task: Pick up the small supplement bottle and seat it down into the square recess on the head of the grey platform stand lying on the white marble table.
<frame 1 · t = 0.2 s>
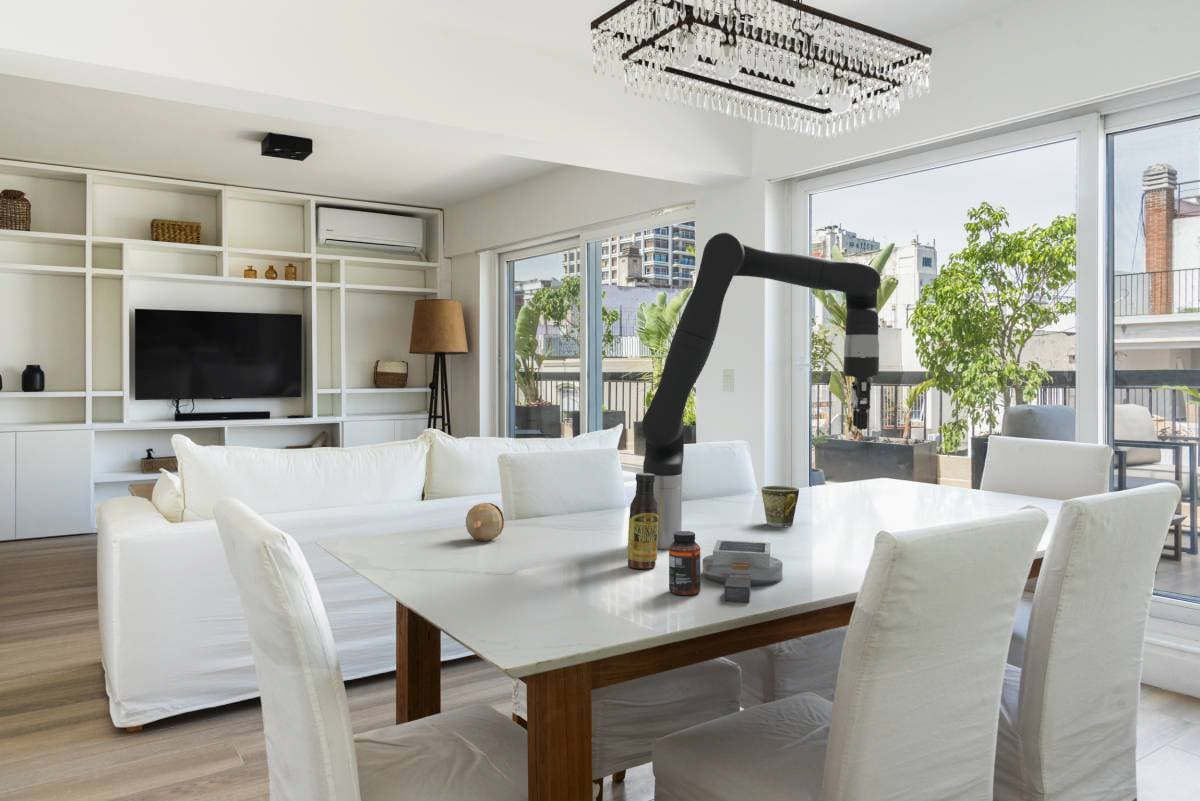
hand: (859, 427, 187), 29 cm above the table, fingers open, 8 cm apart
sauce bottle: (642, 567, 177), on the table
supplement bottle: (684, 593, 157), on the table
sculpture: (483, 542, 202), on the table
grey platform stand: (742, 576, 169), on the table
ceramic cup: (782, 526, 224), on the table
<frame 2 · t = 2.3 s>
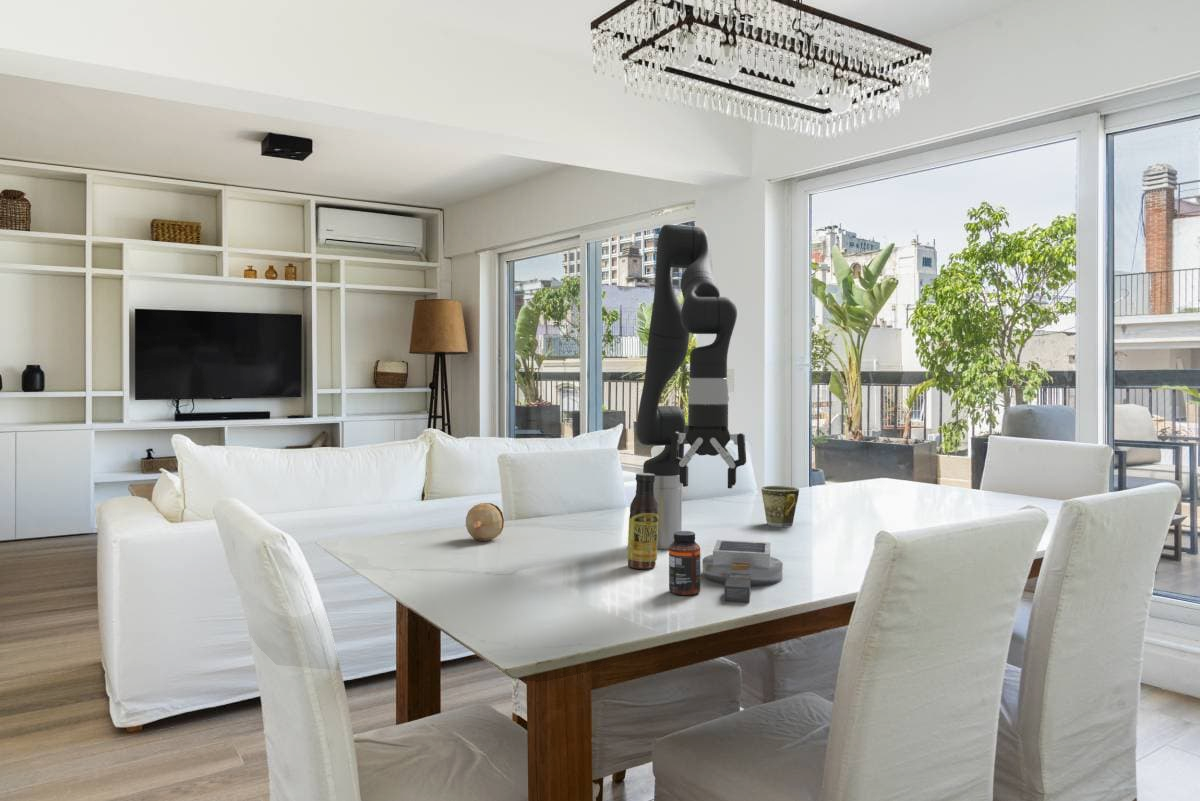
hand: (707, 487, 158), 20 cm above the table, fingers open, 8 cm apart
nothing on the table moved.
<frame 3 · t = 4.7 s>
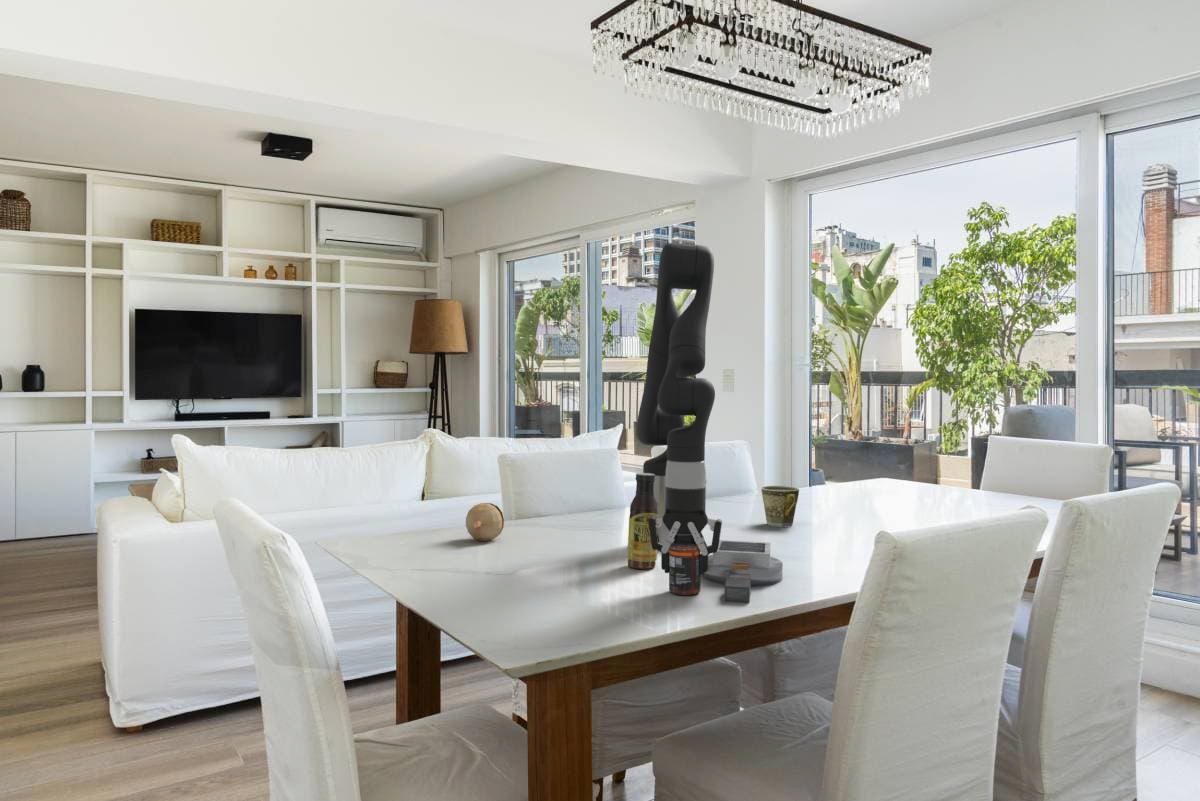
hand: (684, 572, 157), 4 cm above the table, fingers closed on supplement bottle, 6 cm apart
supplement bottle: (684, 593, 157), on the table, touching gripper
everything else where it was.
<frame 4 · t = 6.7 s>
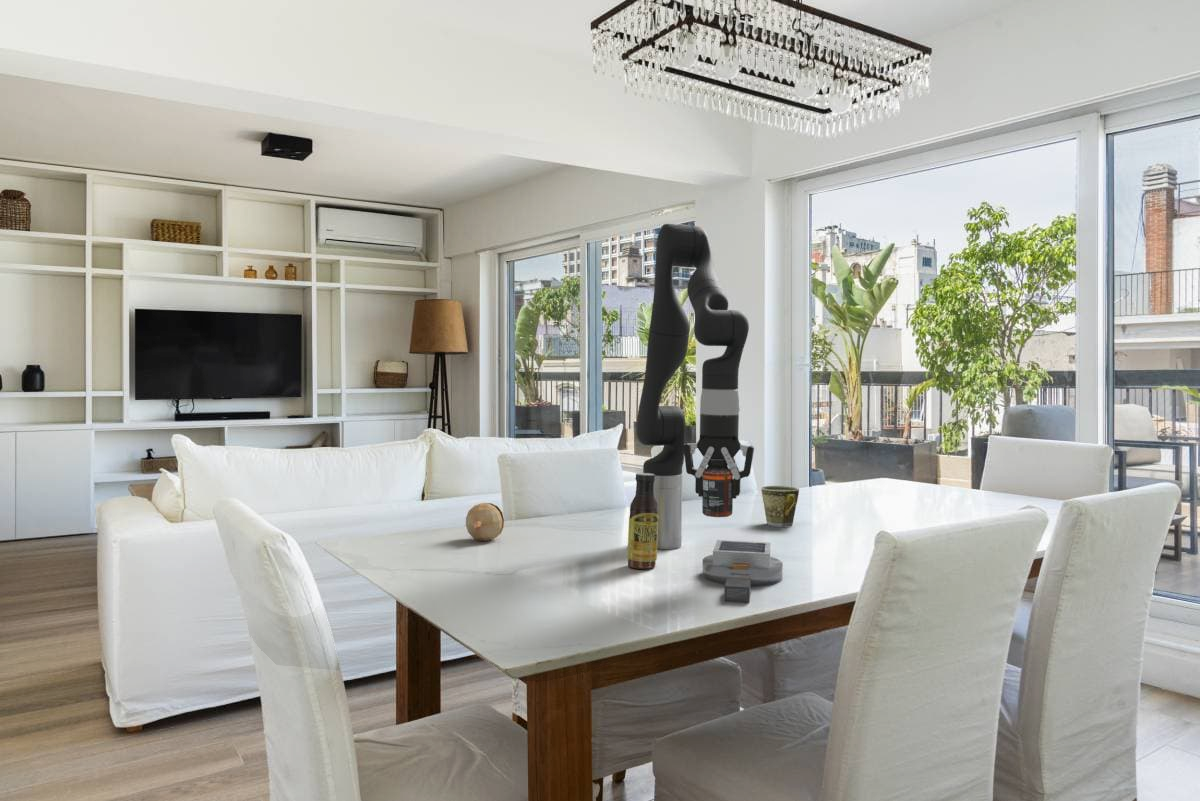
hand: (717, 496, 164), 17 cm above the table, fingers closed on supplement bottle, 6 cm apart
supplement bottle: (717, 516, 164), point 13 cm above the table, touching gripper
everything else where it was.
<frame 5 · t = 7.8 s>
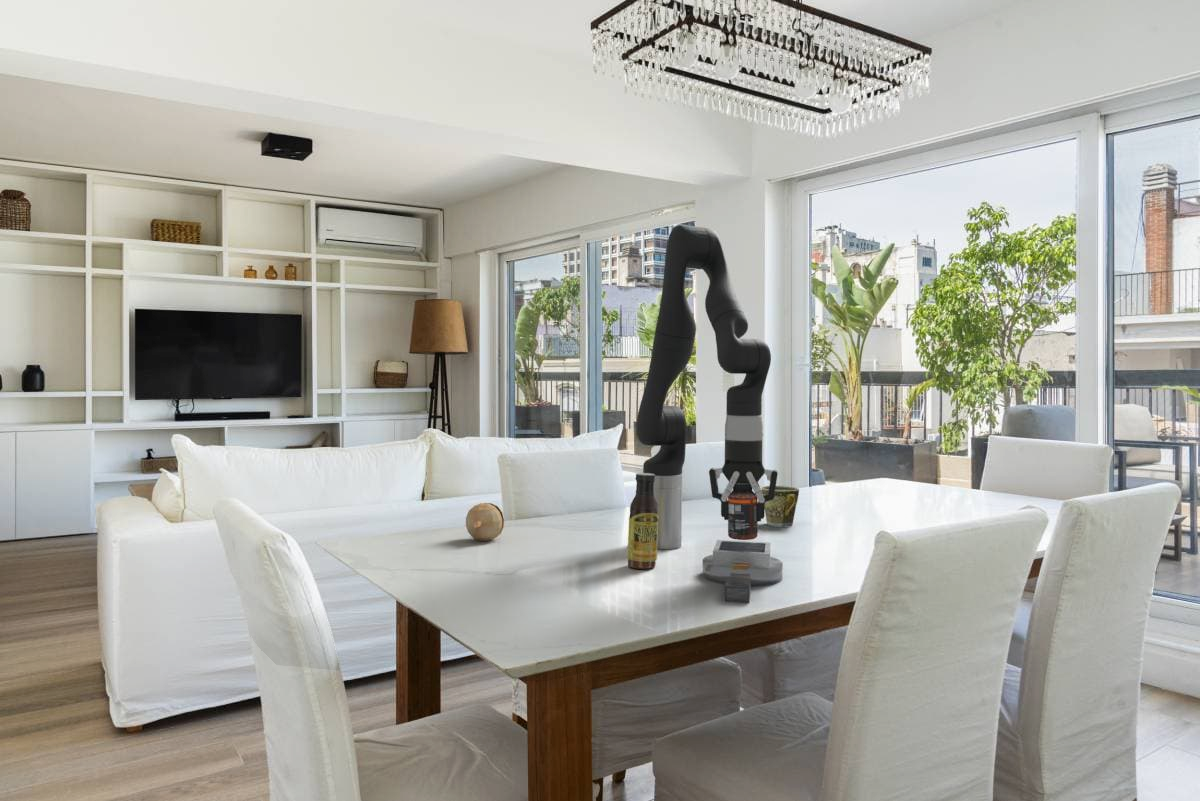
hand: (742, 519, 169), 11 cm above the table, fingers closed on supplement bottle, 6 cm apart
supplement bottle: (742, 538, 169), point 8 cm above the table, touching gripper
everything else where it was.
when the fingers open (8 cm above the table, at t = 8.8 s): supplement bottle drops 1 cm, resting on grey platform stand.
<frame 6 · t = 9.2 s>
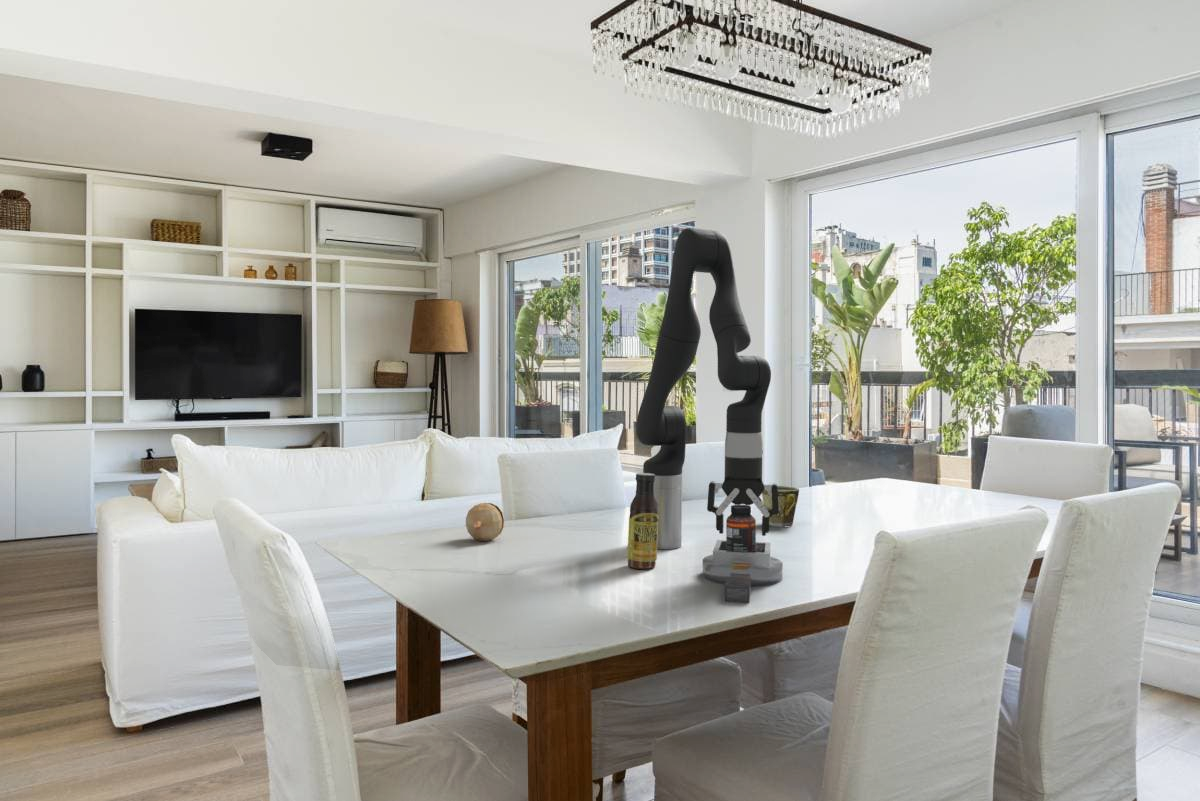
hand: (742, 534, 169), 9 cm above the table, fingers open, 8 cm apart
supplement bottle: (740, 562, 169), point 3 cm above the table, touching grey platform stand
everything else where it was.
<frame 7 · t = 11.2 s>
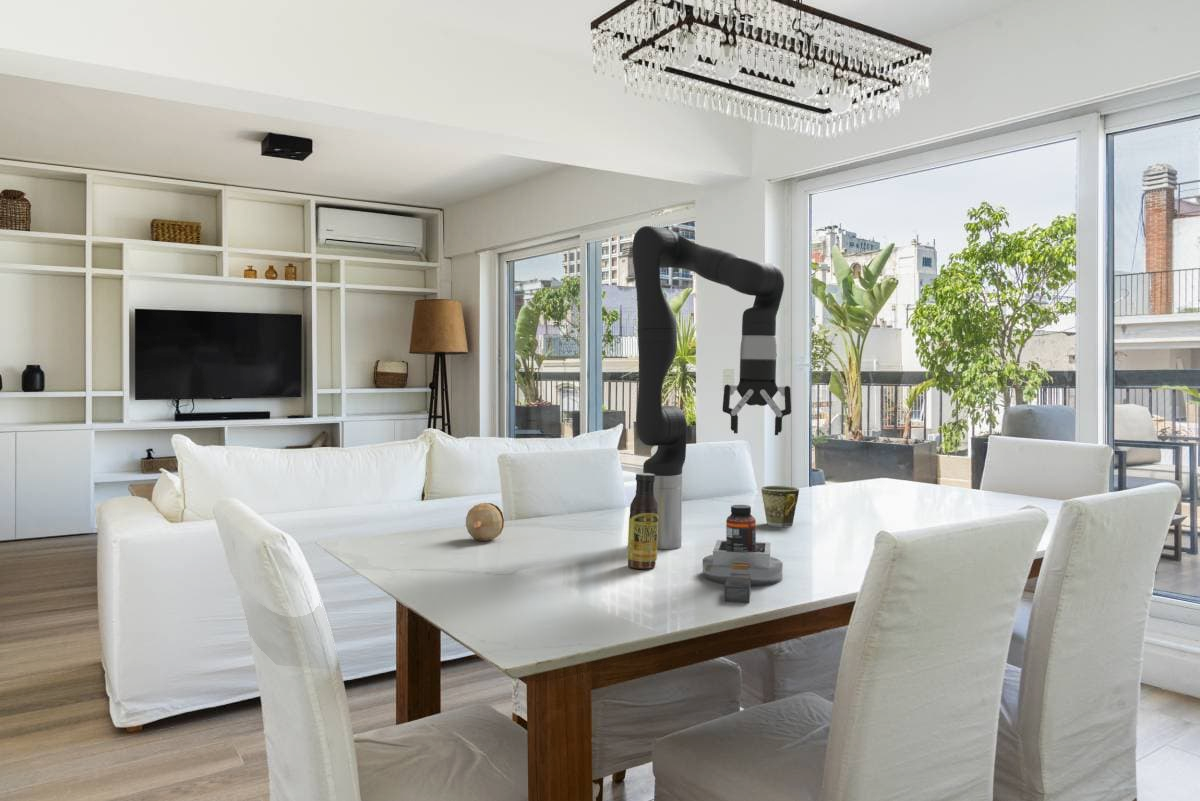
hand: (756, 434, 176), 28 cm above the table, fingers open, 8 cm apart
nothing on the table moved.
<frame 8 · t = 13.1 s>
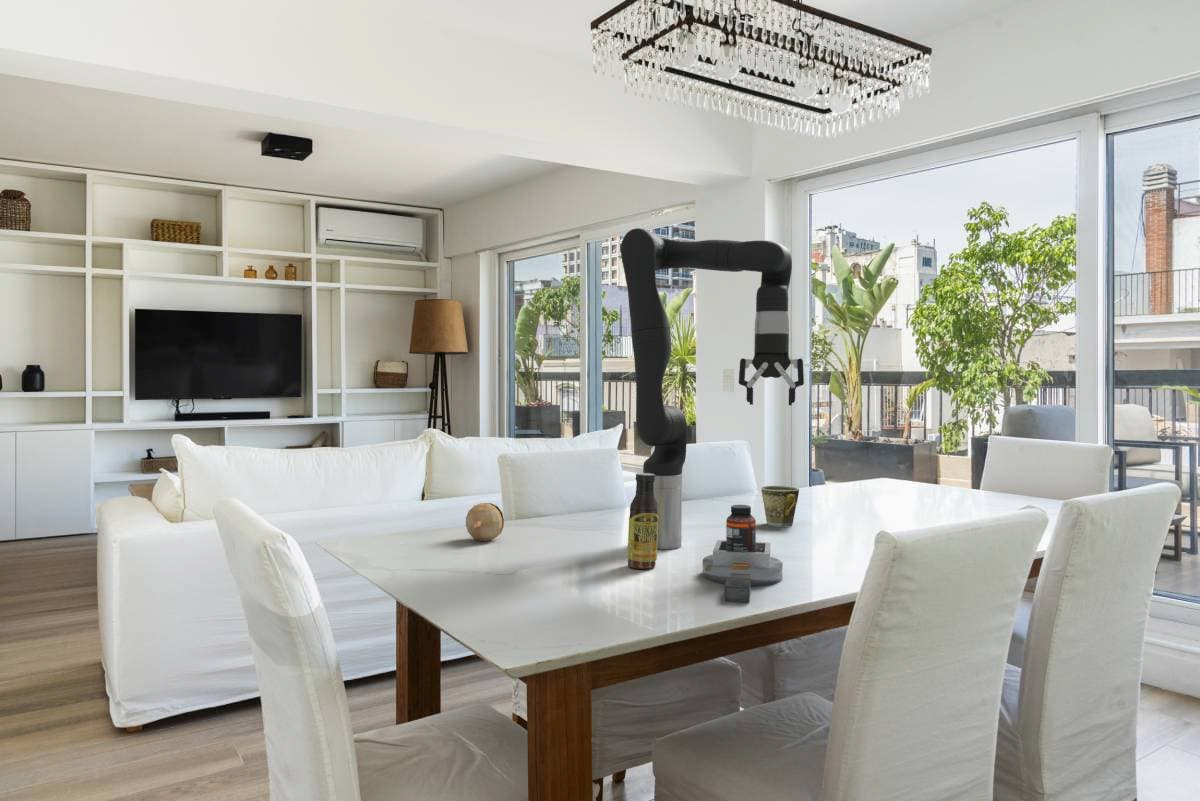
hand: (770, 404, 186), 34 cm above the table, fingers open, 8 cm apart
nothing on the table moved.
at the end: supplement bottle 0.3 cm off-centre on the grey platform stand, point 2.8 cm above the grey platform stand's base; supplement bottle tilted 0°; the gripper is holding nothing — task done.
